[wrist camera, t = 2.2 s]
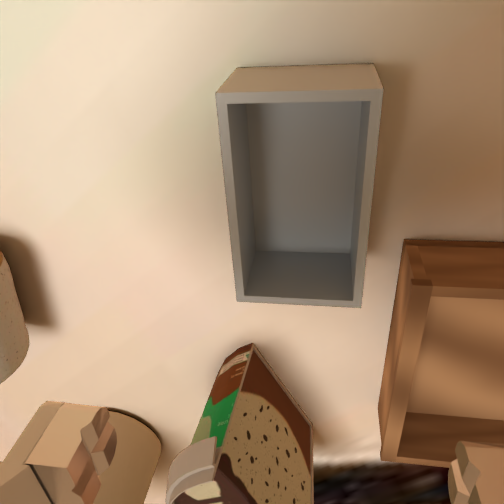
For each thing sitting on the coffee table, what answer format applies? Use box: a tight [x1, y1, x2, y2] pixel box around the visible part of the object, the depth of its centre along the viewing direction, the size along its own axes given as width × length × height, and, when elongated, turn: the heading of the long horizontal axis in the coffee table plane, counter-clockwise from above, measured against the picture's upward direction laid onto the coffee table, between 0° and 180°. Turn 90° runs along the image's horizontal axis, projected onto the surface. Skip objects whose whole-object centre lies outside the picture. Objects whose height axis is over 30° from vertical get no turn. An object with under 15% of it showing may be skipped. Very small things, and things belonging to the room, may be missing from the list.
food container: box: [165, 343, 314, 504], centre depth 29 cm, size 12×6×10 cm, turn 30°
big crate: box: [378, 239, 504, 468], centre depth 25 cm, size 14×12×4 cm
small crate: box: [215, 63, 383, 308], centre depth 20 cm, size 10×6×4 cm, turn 3°
